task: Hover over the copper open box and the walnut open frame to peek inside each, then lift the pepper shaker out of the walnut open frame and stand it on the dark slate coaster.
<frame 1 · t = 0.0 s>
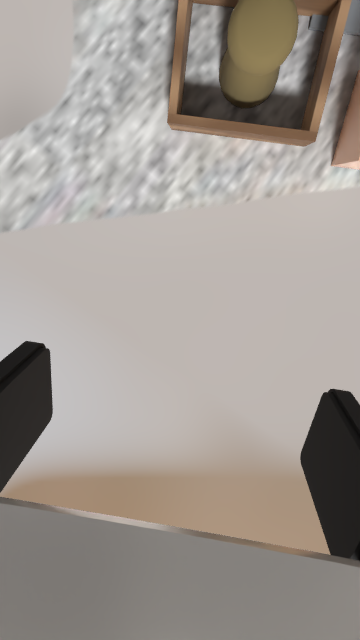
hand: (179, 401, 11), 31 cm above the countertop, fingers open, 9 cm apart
pepper shaker: (248, 74, 32), resting in walnut open frame
walnut open frame: (248, 73, 32), on the countertop
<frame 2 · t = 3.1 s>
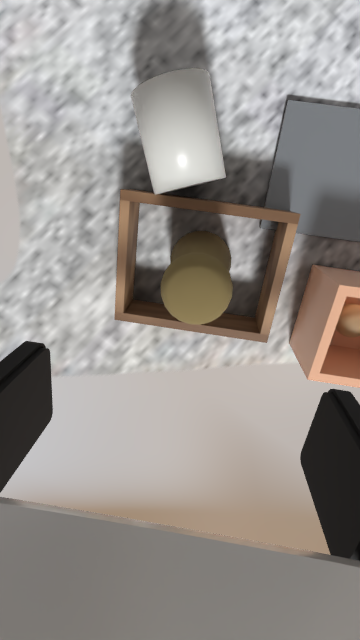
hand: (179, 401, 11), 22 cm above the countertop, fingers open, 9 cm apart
slate coaster: (329, 176, 27), on the countertop
white plastic tumbler: (183, 144, 27), on the countertop
pepper shaker: (200, 261, 31), resting in walnut open frame
walnut open frame: (200, 261, 31), on the countertop
cork ball: (351, 320, 30), point 2 cm above the countertop, touching copper open box
copper open box: (342, 312, 32), on the countertop
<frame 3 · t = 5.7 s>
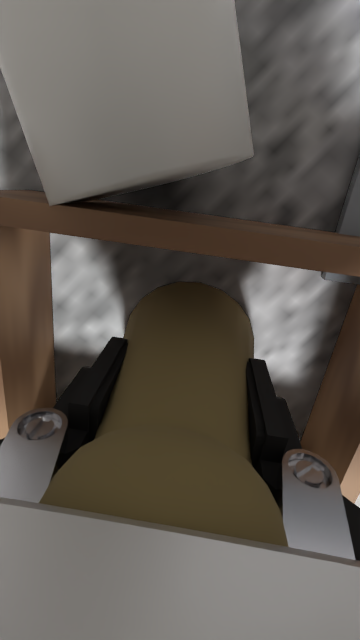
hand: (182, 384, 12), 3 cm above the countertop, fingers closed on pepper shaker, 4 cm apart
white plastic tumbler: (141, 76, 11), on the countertop
pepper shaker: (188, 342, 15), resting in walnut open frame, touching gripper
walnut open frame: (188, 344, 15), on the countertop
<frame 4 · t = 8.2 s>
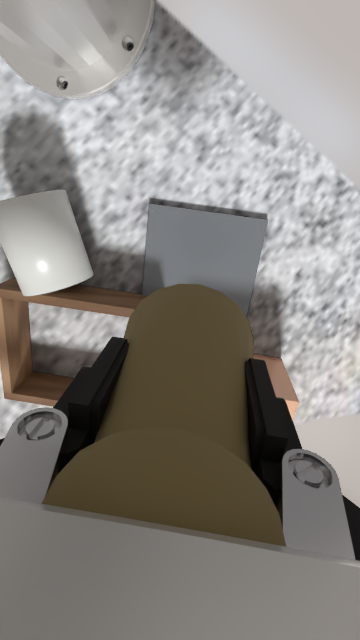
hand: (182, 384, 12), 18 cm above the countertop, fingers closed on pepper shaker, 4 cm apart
slate coaster: (199, 269, 29), on the countertop
white plastic tumbler: (60, 238, 29), on the countertop
pepper shaker: (188, 343, 15), point 15 cm above the countertop, touching gripper
walnut open frame: (90, 340, 32), on the countertop
copper open box: (230, 387, 33), on the countertop
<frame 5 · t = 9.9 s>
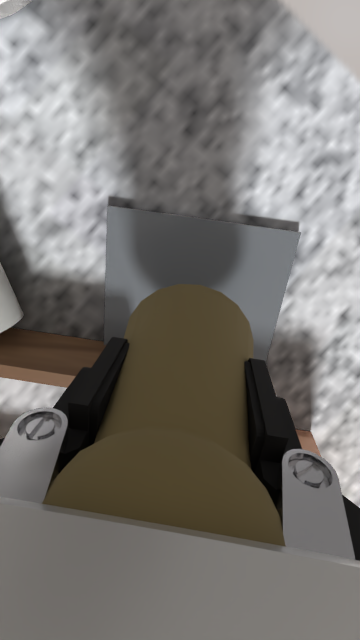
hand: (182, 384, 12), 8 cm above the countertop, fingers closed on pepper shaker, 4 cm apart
slate coaster: (190, 306, 18), on the countertop
pepper shaker: (188, 343, 15), point 4 cm above the countertop, touching gripper
walnut open frame: (34, 402, 22), on the countertop
copper open box: (235, 467, 23), on the countertop
when the fingers open (4 cm above the countertop, at t = 10.9 s): pepper shaker stays where it is, resting on slate coaster.
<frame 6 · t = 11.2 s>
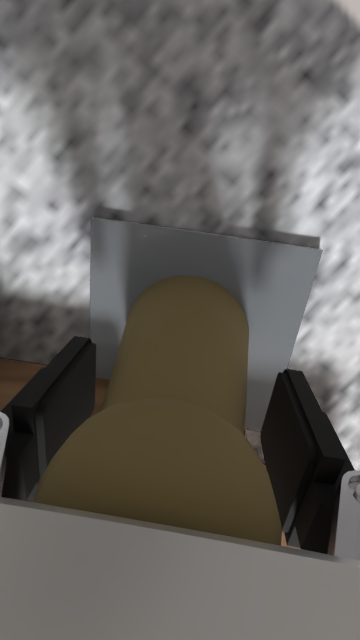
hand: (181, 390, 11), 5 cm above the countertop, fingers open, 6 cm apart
slate coaster: (190, 334, 16), on the countertop
pepper shaker: (186, 333, 16), resting on slate coaster
walnut open frame: (12, 438, 20), on the countertop
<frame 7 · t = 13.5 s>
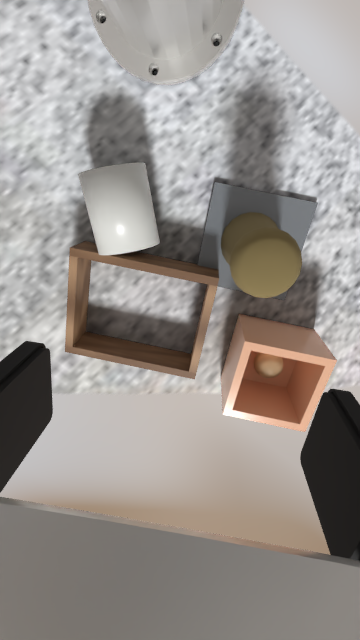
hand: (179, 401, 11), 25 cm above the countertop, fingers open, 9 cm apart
slate coaster: (251, 244, 32), on the countertop
white plastic tumbler: (129, 208, 32), on the countertop
pepper shaker: (250, 243, 32), resting on slate coaster
walnut open frame: (144, 304, 36), on the countertop
cork ball: (268, 363, 35), point 2 cm above the countertop, touching copper open box
copper open box: (265, 354, 37), on the countertop
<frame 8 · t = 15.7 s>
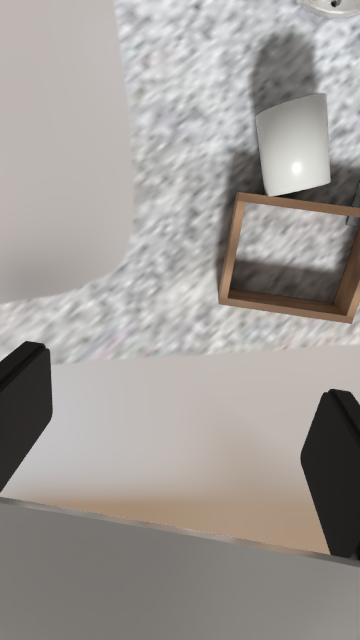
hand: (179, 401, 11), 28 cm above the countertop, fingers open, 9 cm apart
white plastic tumbler: (286, 153, 32), on the countertop
walnut open frame: (290, 254, 36), on the countertop
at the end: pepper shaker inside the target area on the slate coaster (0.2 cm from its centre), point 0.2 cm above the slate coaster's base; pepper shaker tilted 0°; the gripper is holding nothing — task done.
